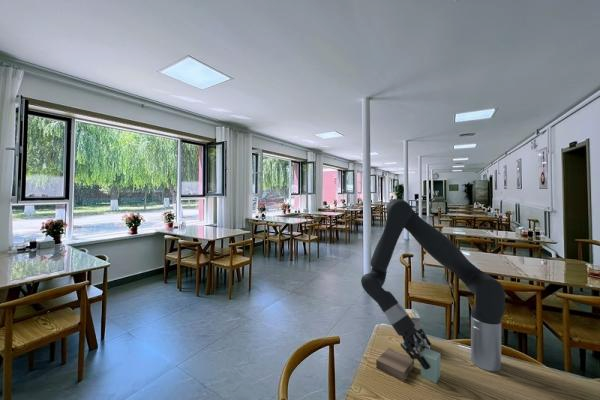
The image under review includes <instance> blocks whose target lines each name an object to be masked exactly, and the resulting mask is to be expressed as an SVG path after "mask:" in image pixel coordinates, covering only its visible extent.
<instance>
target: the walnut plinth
mask: <svg viewBox="0 0 600 400" xmlns="http://www.w3.org/2000/svg"><path fill="white" fill-rule="evenodd" d="M375 361H376V363H375V365H376V367H375V368H376V369H378V370H380V371H382V372H383V373H386V374H387V375H389V376H392V377H393V378H395V379H398V380H400V381H402V382H405V380H406V379H407V377H408V376H409V375H410V373H411V371H412V370H413V369H414V368H415V359H412V358H411V357H410V356H409V355H405V354H403V353H401V352H399V351H396V350H394V349H392V348H389V347H387V348H386V350H385V351H384V352H383V353H382V354H381V355H379V356H378V357H377V359H376V360H375Z"/></svg>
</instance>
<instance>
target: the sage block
mask: <svg viewBox="0 0 600 400" xmlns="http://www.w3.org/2000/svg"><path fill="white" fill-rule="evenodd" d="M421 354H422V356H423V357H424V358H425V360H426V361H427V362H428V364H429V365H430V368H429V369H427V370H425V369H424V368H423V367H422V365H421V364H420V377H422V378H424V379H426V380H428V381H430V382H432V383H434V384H437V383H438V381H439V379H440V377H441V367H442V365H441V353H440V352H438V351H435V350H432V349H431V348H430V349H428V348H425V349H424V350H423V349H422V351H421Z"/></svg>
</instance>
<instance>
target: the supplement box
mask: <svg viewBox="0 0 600 400" xmlns="http://www.w3.org/2000/svg"><path fill="white" fill-rule="evenodd" d="M404 310H405V311H406V313H407V314H408V315H409V317H410V318H411V319H412V321H413V322H414V323H415V326H414V328H415V329H416V330H419V329H421V317H420V315H419V313H418V311H417V310H416V309H412V308H411V309H410V308H404ZM413 348H414V347H413Z"/></svg>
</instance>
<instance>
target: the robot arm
mask: <svg viewBox="0 0 600 400" xmlns="http://www.w3.org/2000/svg"><path fill="white" fill-rule="evenodd" d="M385 209H386V210H385V211H386V215H387V216H386V221H385V226H384V228H383V231H382V234H381V236H380V238H379V240H378V242H377V244H376V246H375V249H374V251H373V254H372V257H371V259H370V263H369V264H370V266H371V270H370V272H369V273H365V274H363V275H362V277H361V279H360V283H361V287H362V288H363V290H364V291H365V292H366V294H367V295H368V296H369V297H370V298H371V299H373V301H375V302H376V303H377V305H378V306H379V308H380V310H381V311H382V312H383V314H384V315H385V318H386V319H387V320H388V323H390V325H391V327H392V328H393V330H394V331H395V332H396V333H397V336H398V337H400V336H401V337H402V340H403V341H402V342H401V343H400V347H401V348H402V349H403V350H404V352H406V354H407V356H408V357H411V358H412V359H414V360H417V361H418V363H419V364H420V366H421V365H422V367H423V368H424V369H425V370H427V369H429V368H430V365H429V364H428V362H427V361H426V360H425V358H424V357H423V356H422V354H421V353H422V351H423V350H424V349H425V348H428V349H430V350H431V345H432V343H431V341H430V339H429V338H428V336H427V334H426V333H425V331H424V329H423V328H420V329H419V330H416V329H415V328H414V326H415V323H414V322H413V321H412V319H411V318H410V317H409V315H408V314H407V313H406V311H405V308H404V307H403V306H402V305H401V304H400V303H399V301H398V300H397V299H396V297H395V296H394V294H393V293H392V292H391V291H389V290H388V291H387V290H385V289H384V288H383V286H384V285H385V283H386V278H387V271H388V267H389V265H390V262H391V260H392V257H393V254H394V252H395V248H396V245H397V243H398V241H399V238H400V237H401V234H402V233H403V230H406V231H407V232H408V233H409V234H410V235H411V236H412V237H413V238H414V239H415V241H416V242H417V243H418V244H419V245H420V246H421V247H422V248H423V250H424V251H425V252H426V253H427V254H429V255H430V256H431V257H432V258H433V259H434V260H435V261H436V262H438V263H439V264H440V265H442V266H443V267H444V268H446V269H447V270H449V271H450V272H452V273H454V275H456V276H457V277H458V279H460V280H461V281H462V283H463V284H464V285H465V286H466V287H467V288H468V289H469V290H470V292H471V293H472V294H473V295H474V296H475V300H474V301H475V305H474V306H472V308H471V310H470V360H471V362H472V364H474V365H475V367H478V368H479V369H482V370H485V371H487V372H500V371H501V370H502V319H503V317H504V315H505V308H506V307H505V305H506V291H505V287H504V286H503V284H502V283H501V282H500V281H498V280H497V279H496V278H494V277H492V276H491V275H489V274H487V273H486V272H484V271H483V270H481V269H480V268H478V267H477V266H476V265H474V264H473V263H472V262H470V260H469V259H468V258H467V257H466V256H465V254H463V252H462V250H460V248H459V247H458V246H457V245H456V244H455V243H454V242H453V241H451V240H450V238H448V237H447V236H446V235H445V234H443V233H442V232H441V231H439V230H438V229H437V228H435V227H434V226H432V225H431V224H430V223H428V222H426V220H424V219H423V218H421V216H419V214H417V213H416V211H414V209H413V208H412V206H411V205H410V204H409V202H407V201H406V200H404V199H401V198H397V199H396V198H395V199H392V200H390V201H389V202H388V204H387V206H386V208H385ZM413 347H414V348H413ZM421 350H422V351H421Z"/></svg>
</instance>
